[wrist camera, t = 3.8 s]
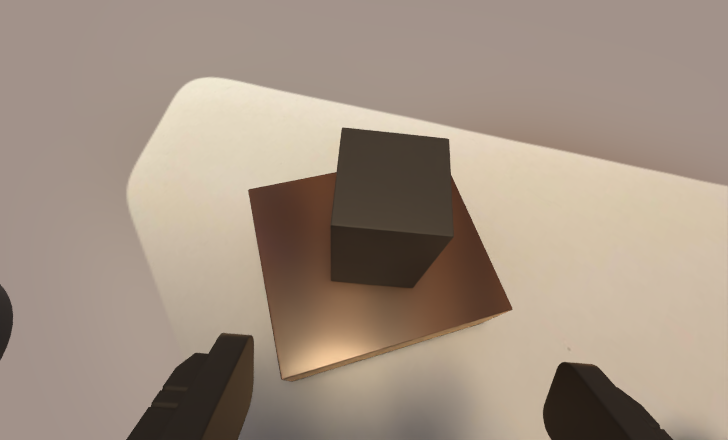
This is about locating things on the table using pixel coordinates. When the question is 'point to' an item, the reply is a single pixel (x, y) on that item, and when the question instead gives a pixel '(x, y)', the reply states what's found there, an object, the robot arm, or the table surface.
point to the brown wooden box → (359, 285)
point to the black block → (389, 207)
